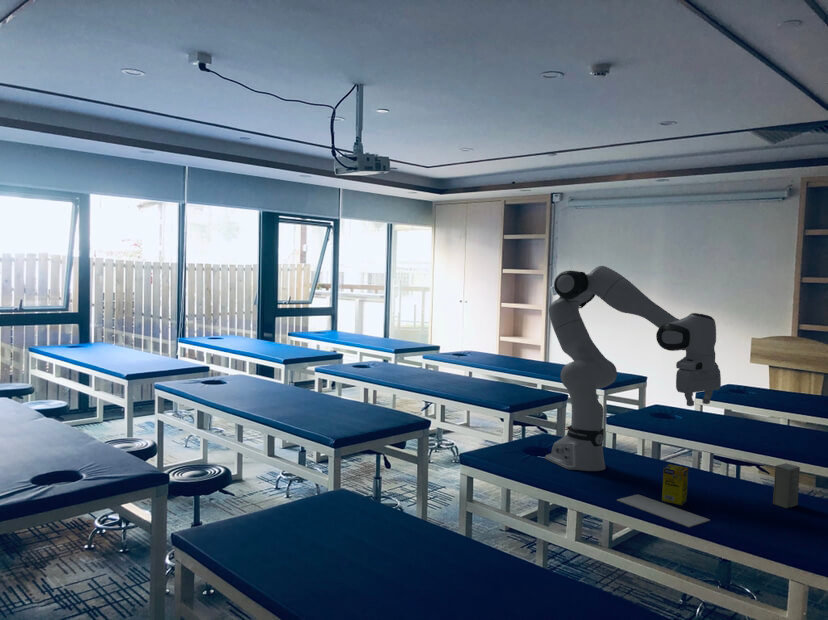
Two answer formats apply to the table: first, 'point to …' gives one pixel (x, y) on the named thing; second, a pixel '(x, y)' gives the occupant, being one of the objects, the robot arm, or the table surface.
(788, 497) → the skincare box
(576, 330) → the robot arm
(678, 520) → the mat
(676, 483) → the supplement box
